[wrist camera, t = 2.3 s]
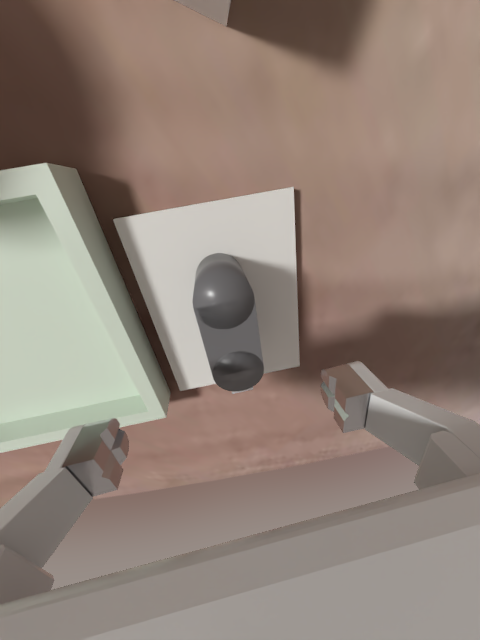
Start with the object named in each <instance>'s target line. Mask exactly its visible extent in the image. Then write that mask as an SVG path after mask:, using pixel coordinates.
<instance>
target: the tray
mask: <svg viewBox="0 0 480 640" xmlns="http://www.w3.org/2000/svg"><path fill="white" fill-rule="evenodd" d="M170 394H171V392H170V390H169V387H168V385H167V382H166V380H165V378H164V375H163V373H162V371H161V368H160V366H159V364H158V361H157V359H156V356H155V354H154V352H153V349H152V347H151V345H150V342H149V340H148V337H147V335H146V333H145V330H144V328H143V326H142V323H141V321H140V319H139V316H138V314H137V311H136V309H135V307H134V304H133V302H132V300H131V297H130V295H129V293H128V290H127V288H126V285H125V283H124V281H123V278H122V276H121V274H120V271H119V269H118V266H117V264H116V262H115V259H114V257H113V255H112V252H111V250H110V248H109V245H108V243H107V240H106V238H105V236H104V233H103V231H102V229H101V226H100V224H99V221H98V219H97V217H96V214H95V212H94V210H93V207H92V205H91V203H90V200H89V198H88V195H87V193H86V191H85V188H84V186H83V184H82V181H81V179H80V176H79V174H78V172H77V169H75V168H70V167H65V166H60V165H55V164H50V163H42V164H36V165H30V166H24V167H18V168H12V169H6V170H0V453H2V452H6V451H11V450H16V449H21V448H25V447H30V446H35V445H39V444H44V443H49V442H53V441H58V440H63V439H64V437H65V435H66V433H67V432H68V430H69V429H71V428H72V427H74V426H79V425H84V424H88V423H92V422H97V421H102V420H107V419H112V418H116V419H117V420H118V422H119V423H120V426H119V427H124V426H128V425H133V424H138V423H143V422H147V421H152V420H157V419H161V418H166V416H167V411H168V405H169V399H170Z"/></svg>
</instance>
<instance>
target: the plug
mask: <svg viewBox="0 0 480 640" xmlns="http://www.w3.org/2000/svg"><path fill="white" fill-rule="evenodd" d="M193 309H194V312H195V316H196V319H197V323H198V326H199V330H200V334H201V337H202V341H203V344H204V348H205V351H206V355H207V358H208V362H209V365H210V369H211V372H212V376H213V379H214V381H215V383H216V384H217V385H218V386H219V387H221V388H223V389H225V390H228V391H232V394H234V393H239V392H243V391H248V390H253V386H254V385H256V384H257V383H258V382H259V381H260V379H261V378H262V376H263V373H264V365H263V357H262V350H261V342H260V335H259V327H258V320H257V313H256V305H255V298H254V293H253V290H252V288H251V286H250V284H249V282H248V280H247V278H246V276H245V274H244V271H243V269H242V267H241V265H240V264H239V262H238V261H237V260H236V259H235V258H234V257H232V256H230V255H228V254H224V253H215V254H211V255H209V256H207V257H205V258H204V259H203V260H202V261H201V262H200V264H199V265H198V267H197V270H196V276H195V284H194V292H193Z"/></svg>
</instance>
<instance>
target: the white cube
mask: <svg viewBox="0 0 480 640" xmlns="http://www.w3.org/2000/svg"><path fill="white" fill-rule="evenodd" d="M174 1H176V2H178V3H180V4H182V5H184V6H186V7H188V8H190V9H192V10H194V11H196V12H198V13H200V14H202V15H204V16H206V17H208V18H210V19H212V20H214V21H216V22H218V23H220V24H222V25H224V26H227V20H228V14H229V9H230V3H231V0H174Z"/></svg>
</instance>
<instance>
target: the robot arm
mask: <svg viewBox="0 0 480 640" xmlns="http://www.w3.org/2000/svg"><path fill="white" fill-rule="evenodd" d="M321 378H322V380H323V381H324V382H323V383H322V384H321V394H322V398H323V400H324V403H325V405H326V406H327V408H328V409H329V410H331V411H333V412H334V419H335V421H336V422H337V424H338V426H339V427H340V429H341V430H342V432H343V433H345V432H350V431H354V430H359V429H363V428H365V430H367V431H368V432H370V433H371V434H373V435H374V436H376V437H377V438H379V439H380V440H382V441H383V442H384V443H386V444H387V445H389V446H390V447H392V448H393V449H395V450H396V451H398V452H400V453H401V454H402V455H404V456H405V457H407V458H408V459H410V460H411V461H413V462H414V463H416V464H417V465H419V469H418V471H417V474H416V476H415V481H414V483H415V484H416V486H417V487H418V488H419V490H416V491H412V492H409V493H405V494H401V495H398V496H394V497H390V498H387V499H383V500H379V501H376V502H372V503H369V504H365V505H361V506H357V507H354V508H350V509H346V510H343V511H339V512H335V513H332V514H328V515H324V516H321V517H317V518H313V519H310V520H306V521H302V522H299V523H295V524H291V525H288V526H284V527H280V528H277V529H273V530H269V531H266V532H262V533H258V534H255V535H251V536H247V537H244V538H240V539H237V540H233V541H229V542H225V543H222V544H218V545H214V546H211V547H207V548H204V549H200V550H196V551H192V552H189V553H185V554H182V555H178V556H174V557H171V558H167V559H163V560H159V561H156V562H152V563H148V564H145V565H141V566H137V567H134V568H130V569H126V570H123V571H119V572H115V573H112V574H108V575H104V576H101V577H98V578H93V579H90V580H86V581H83V582H79V583H75V584H71V585H68V586H64V587H60V588H57V589H53V590H51V588H52V585H53V582H54V578H53V576H52V575H51V574H49V573H48V572H46V571H45V570H43V569H42V567H43V566H44V565H45V563H46V562H47V560H48V559H49V558H50V556H51V555H52V554H53V552H54V551H55V550H56V548H57V547H58V545H59V544H60V542H61V541H62V540H63V539H64V537H65V536H66V534H67V533H68V532H69V530H70V529H71V528H72V526H73V524H74V523H75V522H76V521H77V519H78V518H79V517H80V515H81V514H82V512H83V511H84V510H85V508H86V507H87V505H88V504H89V503H90V501H91V500H92V499H93V496H97V495H100V494H104V493H107V492H111V491H114V490H118V486H119V483H120V479H121V476H122V472H123V468H122V466H121V464H122V463H123V461H124V460H125V459H126V458H127V455H128V451H129V440H128V436H127V434H126V433H125V432H124V431H122V430H120V429H119V426H120V423H119V422H118V420H117V419H116V418H112V419H107V420H102V421H97V422H92V423H88V424H84V425H79V426H74V427H72V428H71V429H69V430H68V432H67V433H66V435H65V437H64V439H63V440H62V442H61V444H60V446H59V447H58V449H57V451H56V452H55V454H54V456H53V458H52V459H51V461H50V463H49V465H48V466H47V468H46V470H45V471H44V472H43V473H39V474H38V475H37V476H36V477H35V478H34V479H33V480H31V481H30V482H29V483H28V484H27V485H26V486H25V487H24V488H23V489H21V490H20V491H19V492H18V493H17V494H16V495H15V496H14V497H13V498H12V499H10V500H9V501H8V502H7V503H6V504H5V505H4V506H3V507H2V508H0V640H480V425H479V424H478V423H476V422H475V421H473V420H470V419H468V418H465V417H463V416H460V415H458V414H455V413H453V412H450V411H448V410H445V409H443V408H441V407H438V406H436V405H433V404H431V403H428V402H426V401H423V400H421V399H418V398H416V397H413V396H411V395H408V394H406V393H403V392H401V391H398V390H396V389H393V388H391V389H388V388H387V387H386V386H385V385H384V384H383V383H382V382H381V381H380V380H379V379H378V378H377V377H376V376H375V375H374V374H373V373H372V372H371V371H370V370H369V369H368V368H367V367H366V366H365V365H364V364H363V363H362V362H360V361H355V362H351V363H347V364H343V365H339V366H335V367H331V368H327V369H322V371H321Z"/></svg>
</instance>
